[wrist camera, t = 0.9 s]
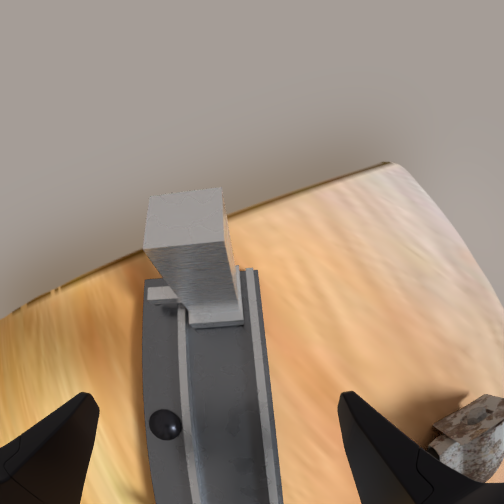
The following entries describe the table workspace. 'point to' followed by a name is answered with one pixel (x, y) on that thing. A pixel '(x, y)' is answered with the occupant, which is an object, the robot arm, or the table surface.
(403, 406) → the table surface
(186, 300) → the block
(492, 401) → the caster wheel
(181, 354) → the rail
